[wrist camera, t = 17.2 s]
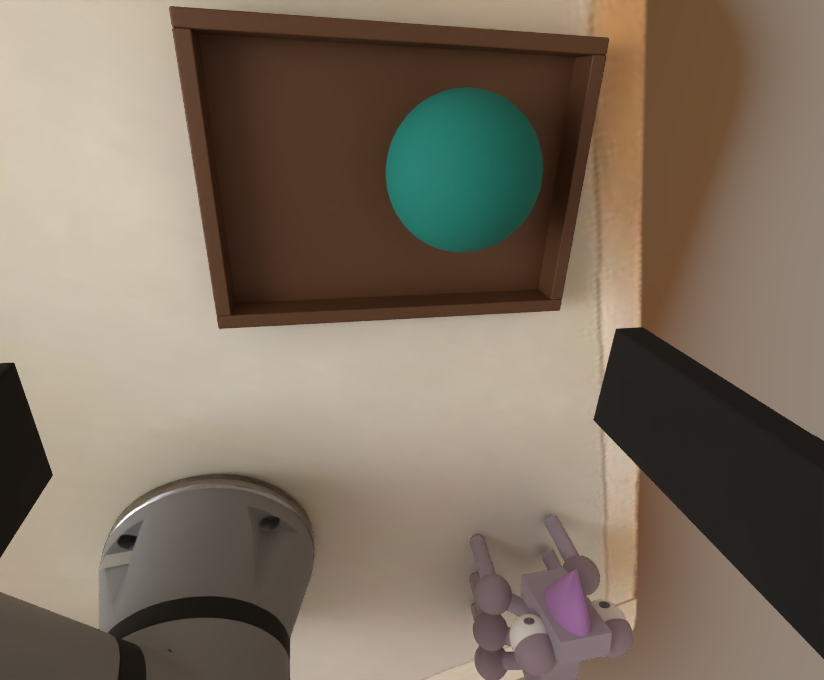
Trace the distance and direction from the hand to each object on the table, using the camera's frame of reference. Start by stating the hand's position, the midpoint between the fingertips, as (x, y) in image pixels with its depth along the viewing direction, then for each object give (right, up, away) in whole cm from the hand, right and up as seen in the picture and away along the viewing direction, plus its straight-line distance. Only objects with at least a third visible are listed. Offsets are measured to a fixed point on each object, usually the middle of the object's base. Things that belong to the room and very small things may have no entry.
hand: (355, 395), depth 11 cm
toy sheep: (+10, -17, +35) cm, 40 cm away
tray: (0, +11, +18) cm, 21 cm away
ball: (+4, +10, +14) cm, 18 cm away
